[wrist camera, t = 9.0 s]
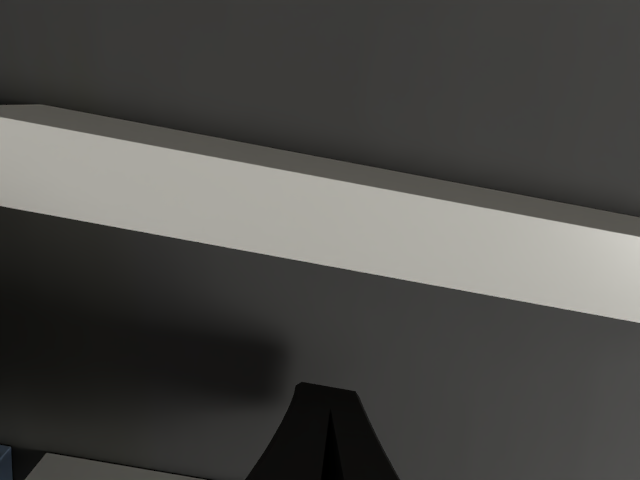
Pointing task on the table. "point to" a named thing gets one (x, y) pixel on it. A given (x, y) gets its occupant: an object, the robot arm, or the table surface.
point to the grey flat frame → (309, 221)
